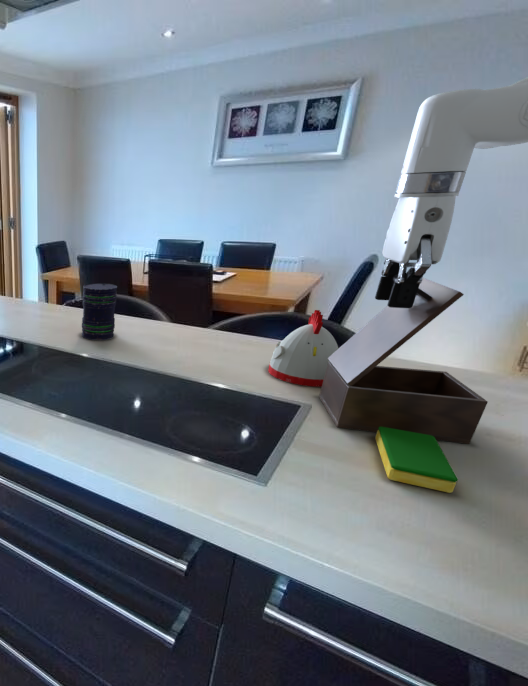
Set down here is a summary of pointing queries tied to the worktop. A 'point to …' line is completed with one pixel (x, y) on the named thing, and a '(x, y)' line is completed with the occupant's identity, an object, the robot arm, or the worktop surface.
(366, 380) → the chest
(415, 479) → the dish sponge
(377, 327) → the lid
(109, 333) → the black striped canister
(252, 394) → the worktop surface
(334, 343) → the kitchen timer
